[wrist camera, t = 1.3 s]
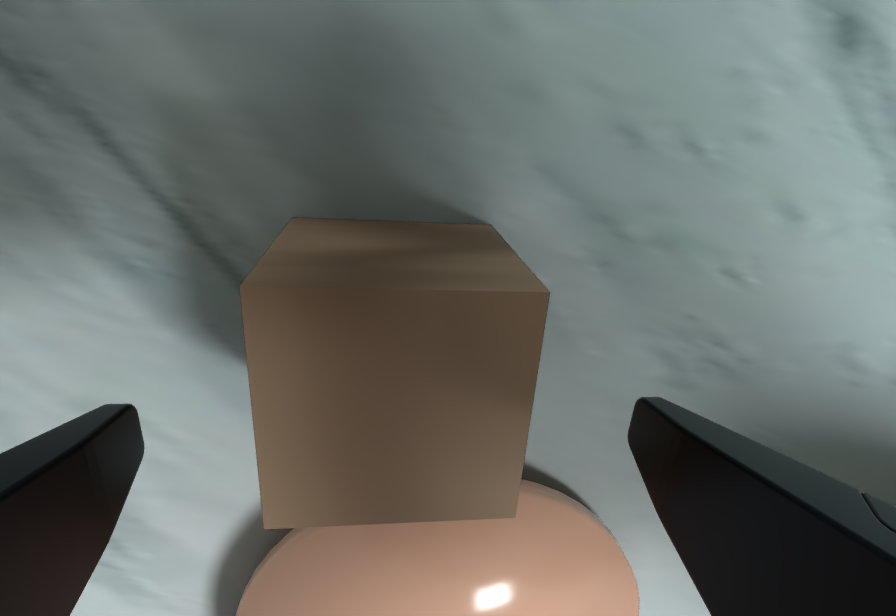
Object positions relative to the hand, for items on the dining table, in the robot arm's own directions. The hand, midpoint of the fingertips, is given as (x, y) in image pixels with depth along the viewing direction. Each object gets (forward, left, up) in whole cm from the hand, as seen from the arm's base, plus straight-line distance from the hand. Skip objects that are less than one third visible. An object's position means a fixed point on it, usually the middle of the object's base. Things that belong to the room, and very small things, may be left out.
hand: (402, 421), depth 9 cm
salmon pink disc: (-2, +12, -5) cm, 13 cm away
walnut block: (0, 0, -5) cm, 5 cm away
